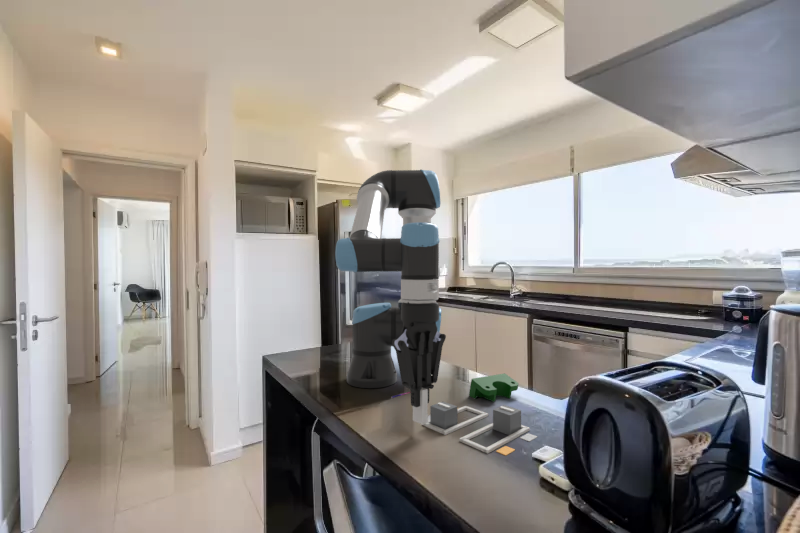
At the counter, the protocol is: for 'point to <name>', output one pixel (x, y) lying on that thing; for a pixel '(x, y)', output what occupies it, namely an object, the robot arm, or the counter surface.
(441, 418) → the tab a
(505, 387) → the green notched bracket
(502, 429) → the grey cube
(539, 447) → the counter surface
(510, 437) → the switch board
